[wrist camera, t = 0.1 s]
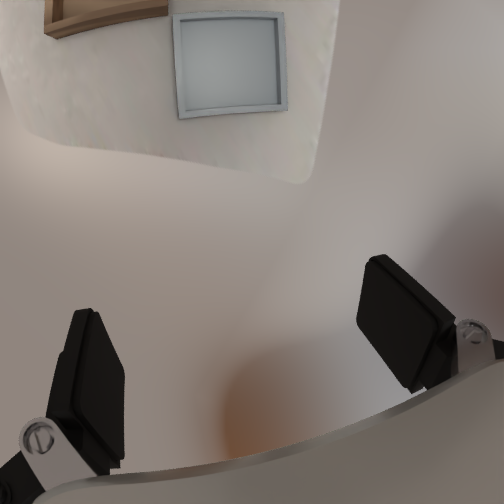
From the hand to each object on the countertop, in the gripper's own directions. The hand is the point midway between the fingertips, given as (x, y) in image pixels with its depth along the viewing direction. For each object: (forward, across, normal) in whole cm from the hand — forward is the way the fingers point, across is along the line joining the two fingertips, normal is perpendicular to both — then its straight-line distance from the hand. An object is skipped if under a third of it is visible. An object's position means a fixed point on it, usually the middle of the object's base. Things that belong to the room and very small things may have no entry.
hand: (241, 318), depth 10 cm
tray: (+31, -6, -11) cm, 34 cm away
